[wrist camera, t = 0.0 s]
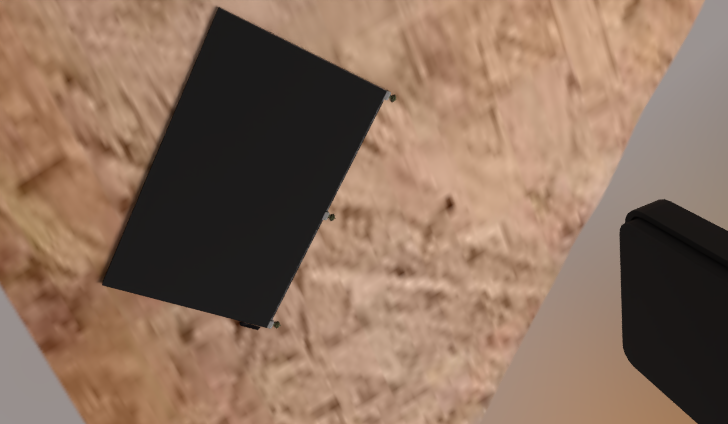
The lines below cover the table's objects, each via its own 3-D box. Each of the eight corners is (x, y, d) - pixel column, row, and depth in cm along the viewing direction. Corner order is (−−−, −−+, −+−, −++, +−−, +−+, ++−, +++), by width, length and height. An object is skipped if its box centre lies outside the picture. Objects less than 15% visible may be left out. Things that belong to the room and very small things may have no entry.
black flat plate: (101, 282, 47) (276, 328, 53) (100, 291, 46) (279, 336, 52) (218, 5, 42) (396, 94, 48) (219, 7, 40) (402, 98, 47)
